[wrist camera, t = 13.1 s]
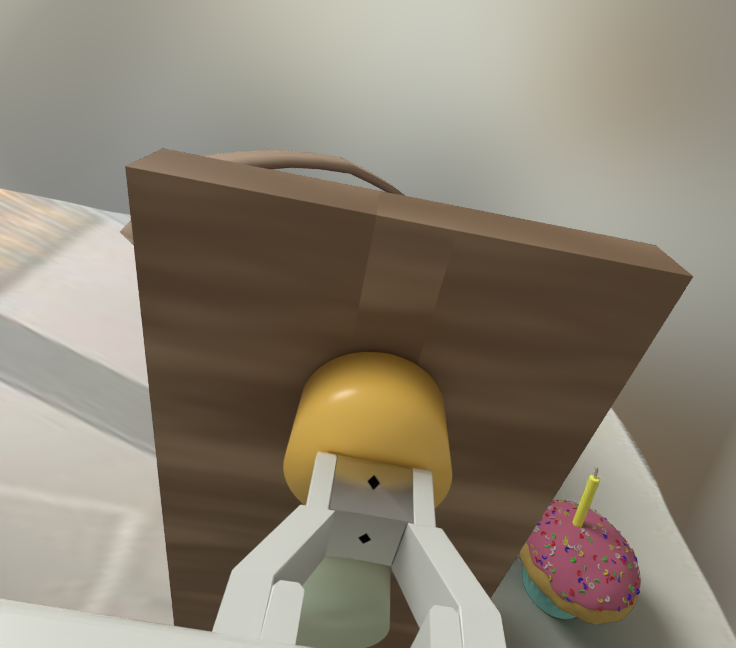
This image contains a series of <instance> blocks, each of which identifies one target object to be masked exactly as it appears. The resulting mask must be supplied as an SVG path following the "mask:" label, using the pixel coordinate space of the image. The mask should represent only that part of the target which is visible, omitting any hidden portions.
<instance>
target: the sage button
mask: <svg viewBox="0 0 736 648" xmlns="http://www.w3.org/2000/svg"><path fill="white" fill-rule="evenodd" d="M390 579H391V566H388V565H383V564H378V563H373V562H368V561H362V560H359V559H358V560H357V559H349V558H342V557H335V556H327V555H325V558H324V559H323V560H322V562H321V563H320V564H319V565H318V567H317V568H316V569H315V571H314V572H313V573H312V574H311V576H310V577H309V578H308V579H307V581H306V582H305V583H304V584H303V586H302V587H303V589H304V596H303V602H302V608H301V614H300V619H299V625H298V631H297V637H296V643H295V644H298V645H301V646H307V647H313V648H367V647H370V646H372V645H375V644H377V643H378V642H380V641H381V640H382V639H384V638H385V636H386V635H387V634H388V632H389V628H390Z"/></svg>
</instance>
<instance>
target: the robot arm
mask: <svg viewBox="0 0 736 648" xmlns="http://www.w3.org/2000/svg"><path fill="white" fill-rule="evenodd" d="M325 555H327V556H335V557H342V558H349V559H357V560H358V559H359V560H362V561H368V562H373V563H378V564H383V565H388V566H392V567H391V568H392V571H393V573H394V575H395V577H396V579H397V581H398V583H399V586H400V588H401V590H402V592H403V594H404V596H405V598H406V601H407V603H408V605H409V607H410V609H411V611H412V613H413V615H414V618H415V620H416V622H417V624H418V626H419V628H420V630H419V632H418V634H417V636H416V638H415V640H414V642H413V644H412V646H411V648H506V643H505V637H504V631H503V625H502V619H501V614H500V613H499V611H498V610H497V608H496V607H495V605H494V604H493V602H492V601H491V600H490V598H489V597H488V595H487V594H486V592H485V591H484V589H483V588H482V586H481V585H480V583H479V582H478V581H477V579H476V578H475V576H474V575H473V573H472V572H471V570H470V569H469V567H468V566H467V565H466V563H465V562H464V560H463V559H462V557H461V556H460V554H459V553H458V551H457V550H456V549H455V547H454V546H453V544H452V543H451V541H450V540H449V538H448V537H447V535H446V534H445V532H444V531H443V530H442V529H441V528H436V518H435V504H434V490H433V476H432V473H431V471H429V470H423V469H418V468H411V467H407V466H401V465H395V464H389V463H382V462H376V461H374V462H373V461H368V460H363V459H358V458H353V457H348V456H343V455H337V454H332V453H326V452H321V451H318V453H317V456H316V460H315V465H314V470H313V475H312V479H311V484H310V489H309V494H308V499H307V504H306V505H300V506H299V507H298V508H296V509H295V510H294V511H293V512H292V513H291V514H290V515H289V516H288V517H287V518H286V519H285V520H284V521H283V522H282V523H281V524H280V525H279V526H278V527H277V528H276V529H274V530H273V531H272V532H271V533H270V534H269V535H268V536H267V537H266V538H265V539H264V540H263V541H262V542H261V543H260V544H259V545H258V546H257V547H256V548H255V549H254V550H252V551H251V552H250V553H249V554H248V555H247V556H246V557H245V558H244V559H243V560H242V561H241V562H240V563H239V564H238V565H237V566H236V567H235V568H234V569H233V570H232V572H231V575H230V578H229V581H228V584H227V587H226V590H225V593H224V596H223V599H222V602H221V606H220V609H219V612H218V615H217V618H216V621H215V624H214V627H213V630H212V632H210V631H204V630H197V629H191V628H184V627H178V626H172V625H165V624H159V623H152V622H146V621H140V620H133V619H127V618H121V617H114V616H108V615H101V614H95V613H89V612H82V611H76V610H70V609H63V608H57V607H50V606H44V605H38V604H31V603H25V602H19V601H12V600H6V599H0V648H313V647H307V646H300V645H295V643H296V637H297V631H298V625H299V619H300V614H301V608H302V602H303V596H304V589H303V587H302V586H303V584H304V583H305V582H306V581H307V579H308V578H309V577H310V576H311V574H312V573H313V572H314V571H315V569H316V568H317V567H318V565H319V564H320V563H321V562H322V560H323V559H324V558H325Z"/></svg>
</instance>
